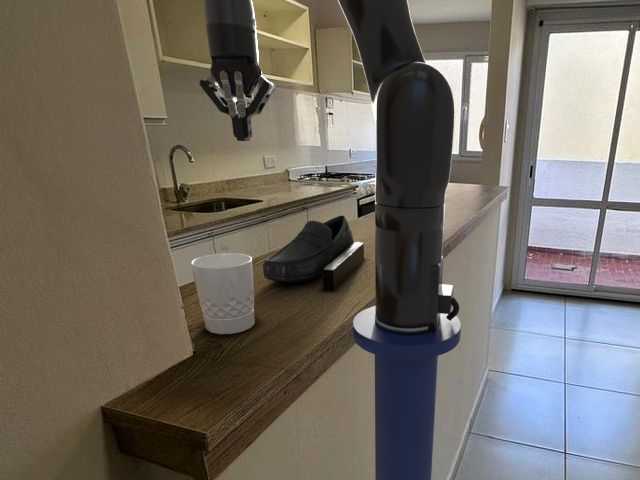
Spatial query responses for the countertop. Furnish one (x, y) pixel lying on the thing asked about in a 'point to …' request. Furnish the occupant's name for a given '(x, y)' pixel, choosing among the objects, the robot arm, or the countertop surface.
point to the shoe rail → (342, 266)
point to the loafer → (310, 251)
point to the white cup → (225, 291)
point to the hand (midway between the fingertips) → (243, 140)
